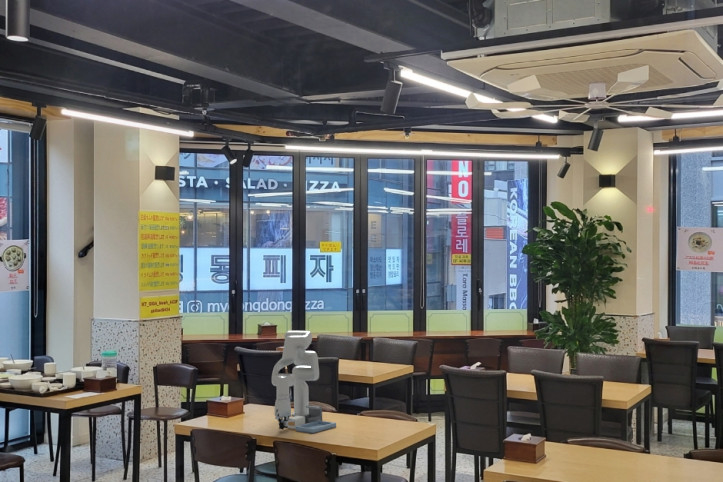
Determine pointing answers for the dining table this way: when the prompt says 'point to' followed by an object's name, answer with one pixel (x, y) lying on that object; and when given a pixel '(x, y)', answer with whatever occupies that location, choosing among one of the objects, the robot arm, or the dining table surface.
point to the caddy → (294, 421)
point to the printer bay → (313, 414)
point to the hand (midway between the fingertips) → (283, 428)
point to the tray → (315, 426)
